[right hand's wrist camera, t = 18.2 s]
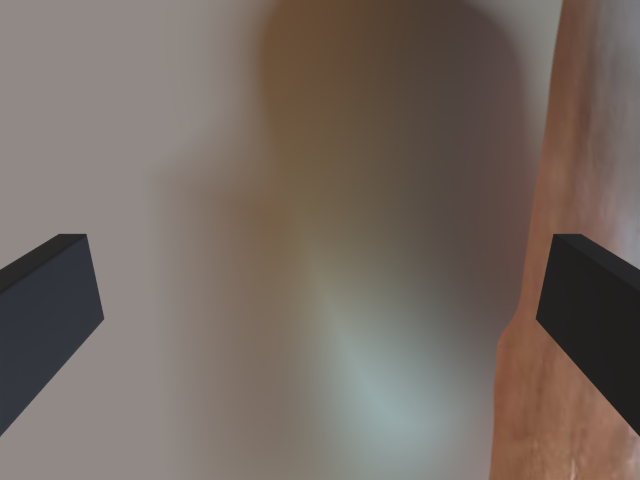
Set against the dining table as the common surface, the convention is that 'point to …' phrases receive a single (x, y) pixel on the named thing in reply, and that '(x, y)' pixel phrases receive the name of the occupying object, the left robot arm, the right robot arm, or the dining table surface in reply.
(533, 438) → the dining table surface
